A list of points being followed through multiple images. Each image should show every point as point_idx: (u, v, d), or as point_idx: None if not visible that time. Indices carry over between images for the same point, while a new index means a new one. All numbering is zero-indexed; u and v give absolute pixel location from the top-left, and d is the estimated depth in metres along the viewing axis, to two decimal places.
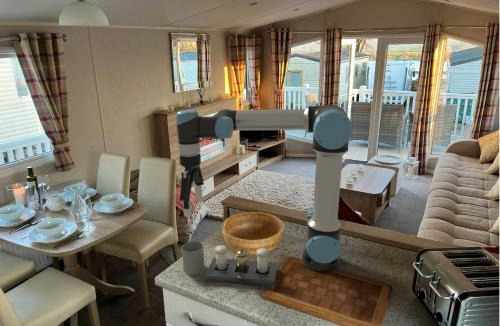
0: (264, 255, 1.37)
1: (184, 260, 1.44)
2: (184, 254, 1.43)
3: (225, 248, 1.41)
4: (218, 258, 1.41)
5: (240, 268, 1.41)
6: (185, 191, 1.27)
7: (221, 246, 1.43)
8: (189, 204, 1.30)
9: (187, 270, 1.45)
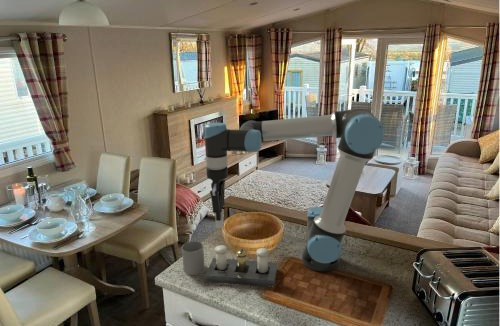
0: (264, 255, 1.37)
1: (184, 260, 1.44)
2: (184, 254, 1.43)
3: (225, 248, 1.41)
4: (218, 258, 1.41)
5: (240, 268, 1.41)
6: (217, 206, 1.31)
7: (221, 246, 1.43)
8: (221, 216, 1.36)
9: (187, 270, 1.45)
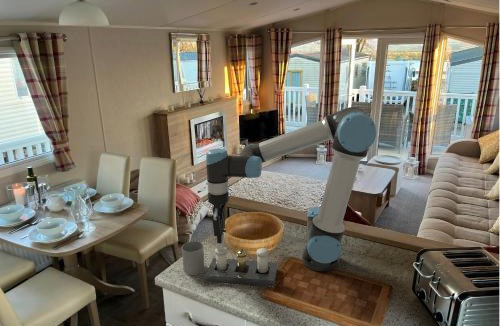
0: (264, 255, 1.37)
1: (184, 260, 1.44)
2: (184, 254, 1.43)
3: (225, 249, 1.41)
4: (218, 259, 1.41)
5: (240, 268, 1.41)
6: (218, 230, 1.34)
7: None
8: (222, 238, 1.39)
9: (187, 270, 1.45)
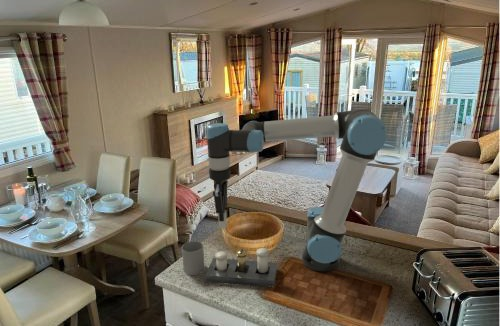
0: (264, 255, 1.37)
1: (184, 260, 1.44)
2: (184, 254, 1.43)
3: (225, 254, 1.42)
4: (218, 264, 1.42)
5: (240, 268, 1.41)
6: (220, 207, 1.31)
7: (221, 252, 1.44)
8: (224, 216, 1.36)
9: (187, 270, 1.45)
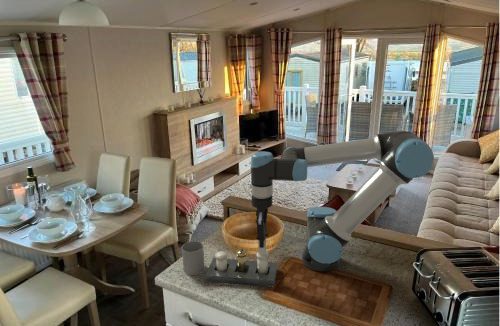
0: (264, 258, 1.37)
1: (184, 260, 1.44)
2: (184, 254, 1.43)
3: (225, 254, 1.42)
4: (218, 264, 1.42)
5: (240, 268, 1.41)
6: (262, 234, 1.32)
7: (221, 252, 1.44)
8: (264, 243, 1.37)
9: (187, 270, 1.45)
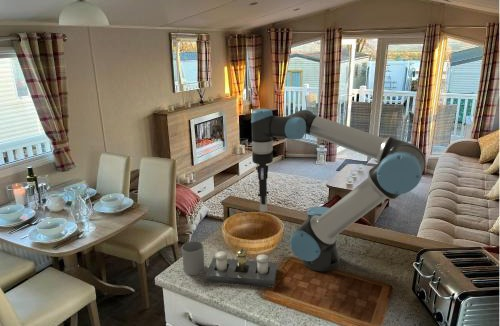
0: (264, 261, 1.38)
1: (184, 260, 1.44)
2: (184, 254, 1.43)
3: (225, 254, 1.42)
4: (218, 264, 1.42)
5: (240, 268, 1.41)
6: (264, 190, 1.36)
7: (221, 252, 1.44)
8: (266, 199, 1.41)
9: (187, 270, 1.45)
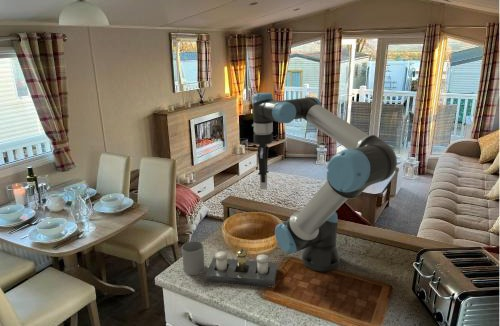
0: (264, 261, 1.38)
1: (184, 260, 1.44)
2: (184, 254, 1.43)
3: (225, 254, 1.42)
4: (218, 264, 1.42)
5: (240, 268, 1.41)
6: (263, 168, 1.46)
7: (221, 252, 1.44)
8: (265, 178, 1.51)
9: (187, 270, 1.45)
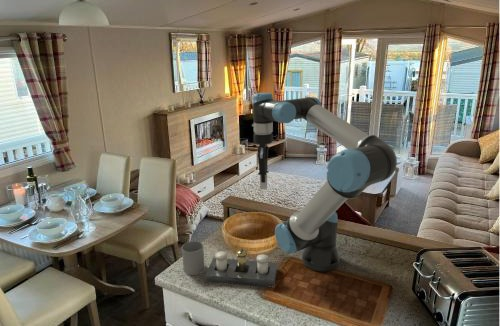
0: (264, 261, 1.38)
1: (184, 260, 1.44)
2: (184, 254, 1.43)
3: (225, 254, 1.42)
4: (218, 264, 1.42)
5: (240, 268, 1.41)
6: (263, 168, 1.46)
7: (221, 252, 1.44)
8: (265, 178, 1.51)
9: (187, 270, 1.45)
